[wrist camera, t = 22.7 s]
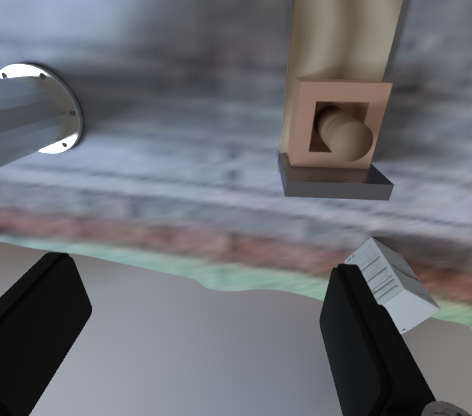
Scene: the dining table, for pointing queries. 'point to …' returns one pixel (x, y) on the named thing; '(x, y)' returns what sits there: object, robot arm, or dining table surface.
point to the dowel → (343, 133)
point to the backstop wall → (333, 182)
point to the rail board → (337, 44)
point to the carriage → (344, 97)
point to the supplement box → (394, 284)
